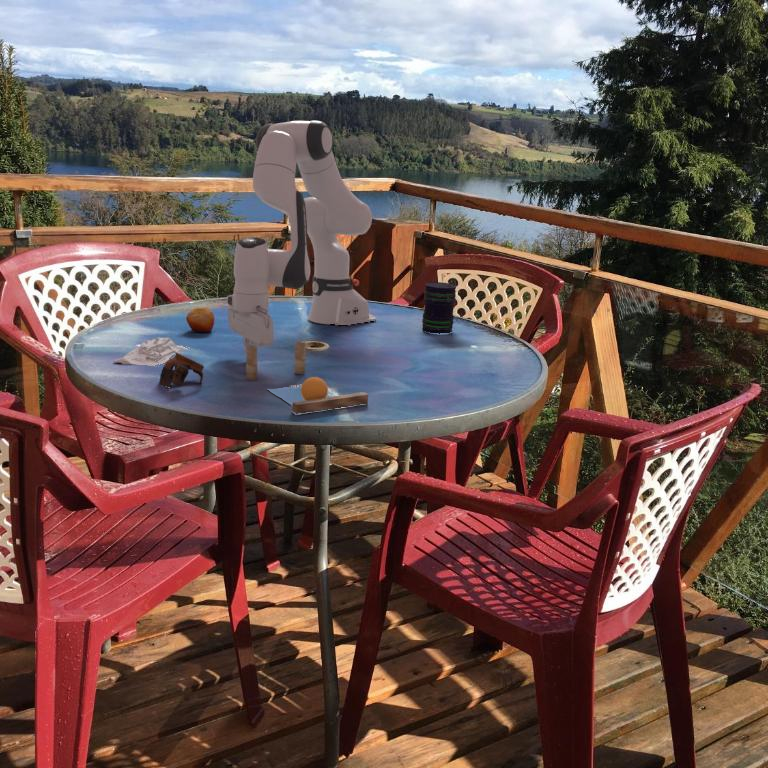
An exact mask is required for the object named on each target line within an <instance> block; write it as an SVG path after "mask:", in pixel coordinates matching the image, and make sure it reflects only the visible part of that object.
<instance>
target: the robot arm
mask: <svg viewBox="0 0 768 768" xmlns="http://www.w3.org/2000/svg"><path fill="white" fill-rule="evenodd" d="M333 142H334V141H333V134H332V131H331V128H330V126H328V125H327V124H326V123H325V122H324V121H320V120H310V121H309V120H291V121H285V122H278V123H269V124H265V125H263V126H261V127H260V128H259V130H258V132H257V133H256V136H255V149H256V151H257V153H256V156H255V162H254V166H253V168H254V169H253V174H252V189H253V191H254V193H255V195H256V197H258V199H260V201H261V202H262V203H264V204H266V206H267V205H268V206H269V207H271V208H273V209H275V210H277V211H279V212H281V213H283V214H284V215H286V216H287V217H288V218H289V221H290V223H289V224H290V248H288V249H275V248H268V243H267V241H266V240H265V239H264V238H261V237H256V236H255V237H253V236H250V237H243V238H241V239H239V240H237V242H236V246H235V250H234V251H235V252H234V259H233V276H234V280H235V281H234V286H233V287H234V288H233V294H229V295H227V296H226V303H227V305H228V307H227V310H228V311H227V313H228V315H227V317H228V319H227V320H228V326H229V329H230V331H232V332H234V333H235V334H238V335H239V336H241V337H242V342H243V345H244V353H245V354H246V347H247V346H257V347H258V346H259V347H268V346H272V345H273V344H274V340H275V339H274V338H275V335H274V322H273V318H272V317H271V315H270V314H269V311H268V310H269V301H270V300H269V296H270V295H269V294H270V293H269V286H270V287H280V288H282V287H283V288H286V289H291V290H299V289H301V288H303V287H304V286H305V285H306V284H307V283H308V282H309V279H310V276H311V263H310V258H309V257H310V256H309V245H308V244H309V241H308V237H309V240H310V241H311V245H312V249H313V255H314V256H313V257H314V275H313V276H312V302H311V306H310V311H309V313H308V316H307V320H308V321H310V322H313V323H316V324H321V325H330V324H335V325H334V326H338V325H348V326H352V325H351V324H355V325H357V324H356V323H361V324H365V323H364V322H368V323H371V322H370V321H374V322H376V321H377V318H376V316H375V315H373V314H370V307H369V306H370V305H369V303H368V301H367V299H366V298H364V297H363V296H362V295H361V294H360V293H359V292H357V290H356V289H354V286H355V287H358V286H359V284H360V281H359V280H358V279H356V278H353V279H352V278H351V277H349V276H350V253H349V251H348V250H347V249H346V247H344V246H343V245H341V244H340V242H339V239H338V236H337V235H339V236H341V235H342V236H349V237H351V236H359V235H361V236H362V235H364V234H366V233H367V232H368V231H369V229H370V228H371V225H372V223H373V222H372V221H373V214H372V210H371V208H370V207H369V205H368V204H367V203H366V202H363V201H361V200H360V199H359V198H358V197H357V196H356V195H355V194H354V193H353V192H352V191H351V190H350V189H349V187H348V186H347V185H346V184H345V182H344V180H343V178H342V176H341V174H340V171H339V168H338V166H337V162H336V159H335V155H334V153H333ZM297 167H298V171H299V174H300V176H301V180H302V182H303V185H304V187H305V190H306V192H307V193H308V194H309V195H310V196H311V197H304V196H303V193H302V192H300V191H299V190H298V189H297V186H296V171H297ZM375 320H376V321H375Z"/></svg>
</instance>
